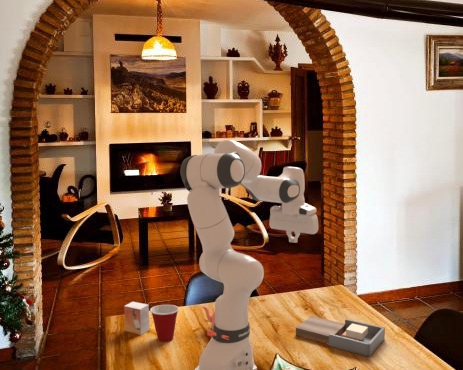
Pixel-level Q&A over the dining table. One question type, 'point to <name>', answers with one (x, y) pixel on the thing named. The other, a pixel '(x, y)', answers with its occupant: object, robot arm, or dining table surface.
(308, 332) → the plate
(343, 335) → the tile front
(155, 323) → the plastic cup
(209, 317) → the pink branching coral
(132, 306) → the small box
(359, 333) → the tile rear
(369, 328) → the box
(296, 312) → the dining table surface
